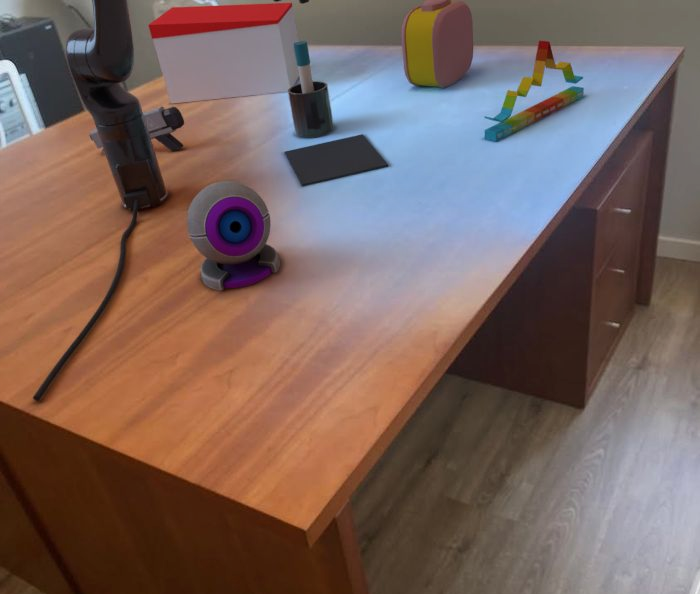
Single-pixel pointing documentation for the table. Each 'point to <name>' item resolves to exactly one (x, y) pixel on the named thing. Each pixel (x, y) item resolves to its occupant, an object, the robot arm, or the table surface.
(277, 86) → the red-lidded white box
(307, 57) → the marker
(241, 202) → the webcam
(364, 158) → the desk mat
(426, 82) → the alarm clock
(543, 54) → the chart
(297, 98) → the pen holder
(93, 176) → the table surface
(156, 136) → the gun
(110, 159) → the robot arm
